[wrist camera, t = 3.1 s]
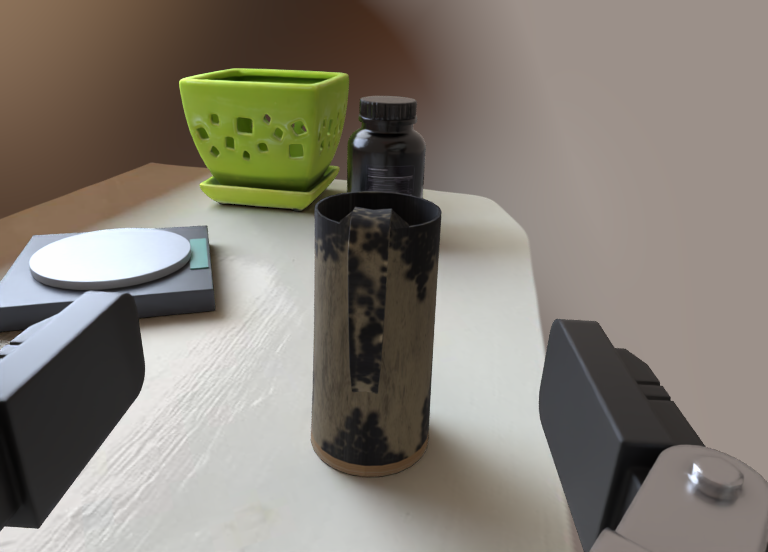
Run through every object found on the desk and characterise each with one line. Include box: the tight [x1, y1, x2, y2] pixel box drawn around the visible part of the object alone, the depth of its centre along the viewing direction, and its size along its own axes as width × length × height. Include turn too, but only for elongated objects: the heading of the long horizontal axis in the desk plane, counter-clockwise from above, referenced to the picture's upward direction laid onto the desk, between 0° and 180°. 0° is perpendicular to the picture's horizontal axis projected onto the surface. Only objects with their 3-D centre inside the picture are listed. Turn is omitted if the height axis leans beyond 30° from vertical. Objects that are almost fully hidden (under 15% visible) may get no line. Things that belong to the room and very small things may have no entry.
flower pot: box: [179, 69, 349, 211], centre depth 60 cm, size 14×14×13 cm
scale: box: [0, 226, 215, 332], centre depth 41 cm, size 13×13×2 cm
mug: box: [311, 191, 441, 477], centre depth 24 cm, size 8×6×12 cm
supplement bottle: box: [347, 96, 426, 198], centre depth 51 cm, size 7×7×12 cm
